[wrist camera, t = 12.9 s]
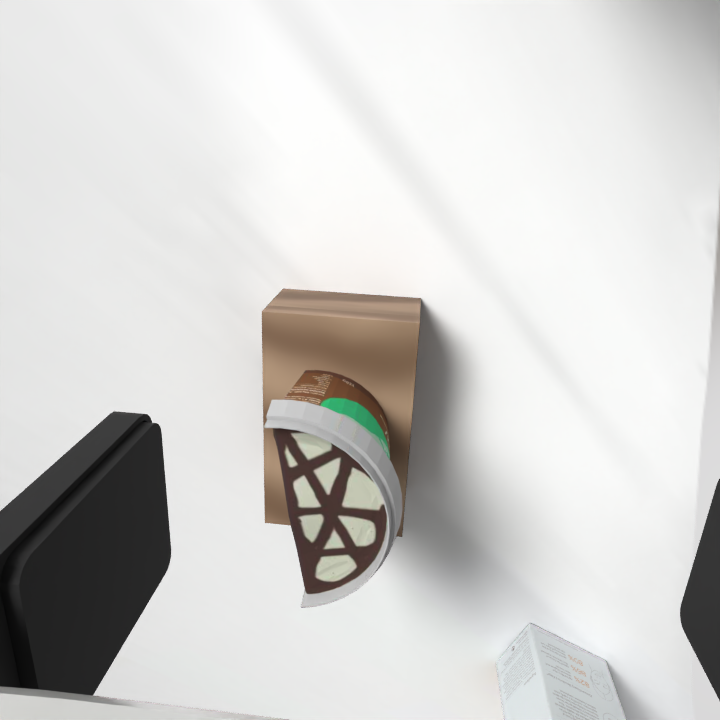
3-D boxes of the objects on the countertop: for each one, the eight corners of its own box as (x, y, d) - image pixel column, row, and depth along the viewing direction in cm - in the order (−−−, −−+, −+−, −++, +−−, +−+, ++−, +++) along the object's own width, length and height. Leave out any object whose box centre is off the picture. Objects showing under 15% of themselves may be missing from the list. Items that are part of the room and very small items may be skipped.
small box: (494, 660, 54) (508, 777, 44) (529, 619, 52) (553, 732, 42) (570, 698, 55) (601, 822, 45) (608, 659, 53) (649, 780, 43)
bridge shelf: (283, 288, 44) (261, 311, 38) (420, 298, 43) (419, 323, 37) (283, 478, 50) (264, 522, 44) (405, 490, 49) (402, 536, 43)
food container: (415, 506, 42) (412, 612, 33) (329, 511, 43) (302, 615, 34) (396, 340, 38) (386, 407, 29) (301, 348, 39) (261, 416, 30)
